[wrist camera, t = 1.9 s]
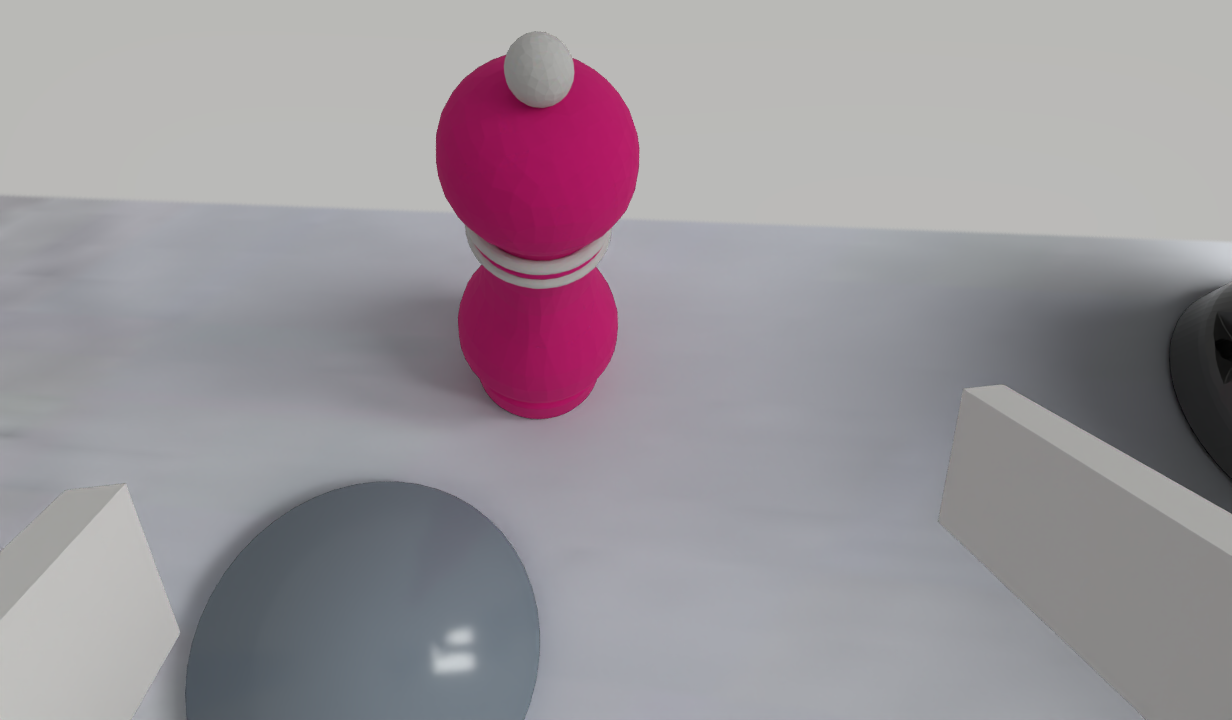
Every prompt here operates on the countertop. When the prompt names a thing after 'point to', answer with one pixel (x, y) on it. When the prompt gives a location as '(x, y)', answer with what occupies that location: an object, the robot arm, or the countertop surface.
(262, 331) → the countertop surface
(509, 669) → the saucer
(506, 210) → the pepper mill
